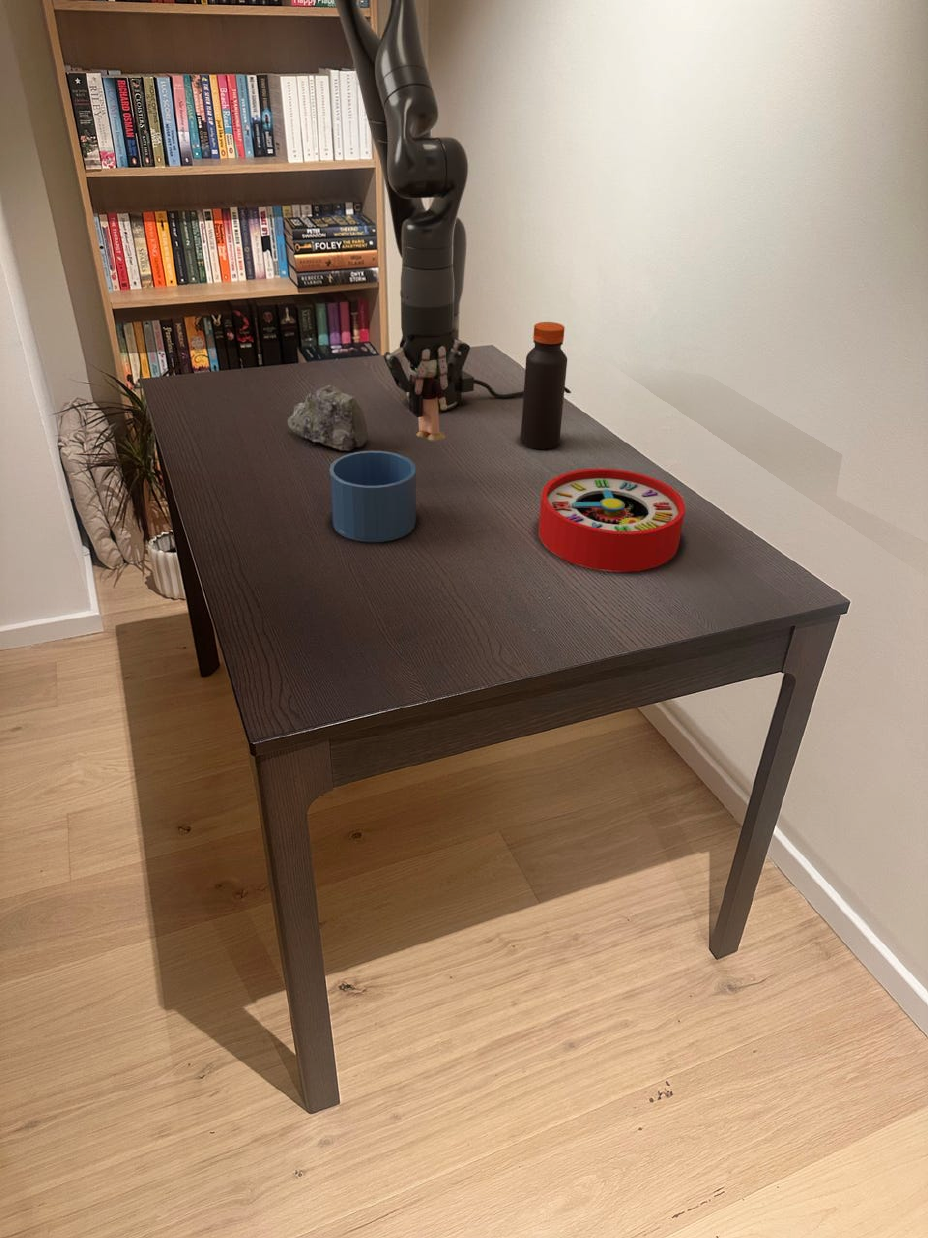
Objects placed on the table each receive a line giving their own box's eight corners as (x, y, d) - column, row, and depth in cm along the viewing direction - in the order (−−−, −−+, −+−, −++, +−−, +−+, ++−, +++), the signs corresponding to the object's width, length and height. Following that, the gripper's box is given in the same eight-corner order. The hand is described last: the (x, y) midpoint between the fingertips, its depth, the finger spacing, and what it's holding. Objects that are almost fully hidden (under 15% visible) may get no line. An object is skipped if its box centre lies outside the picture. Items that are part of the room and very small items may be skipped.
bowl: (392, 496, 139) (391, 444, 134) (430, 530, 130) (431, 476, 126) (319, 513, 134) (316, 460, 129) (354, 550, 125) (351, 494, 120)
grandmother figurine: (455, 436, 140) (456, 354, 133) (443, 444, 137) (444, 362, 130) (412, 426, 143) (411, 345, 136) (400, 434, 140) (398, 352, 133)
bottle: (514, 445, 156) (522, 328, 145) (527, 431, 161) (536, 317, 150) (552, 453, 154) (563, 334, 143) (564, 438, 159) (575, 323, 148)
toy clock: (703, 533, 120) (553, 534, 118) (695, 571, 123) (549, 572, 122) (664, 468, 136) (532, 468, 135) (658, 503, 140) (529, 503, 138)
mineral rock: (285, 432, 158) (280, 375, 152) (341, 421, 163) (338, 366, 157) (316, 460, 149) (312, 401, 143) (374, 447, 154) (373, 390, 148)
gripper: (395, 310, 122) (398, 430, 132) (483, 297, 128) (479, 413, 138) (370, 296, 127) (374, 413, 137) (456, 284, 134) (454, 397, 144)
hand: (427, 412), depth 138 cm, fingers closed on grandmother figurine, 3 cm apart
